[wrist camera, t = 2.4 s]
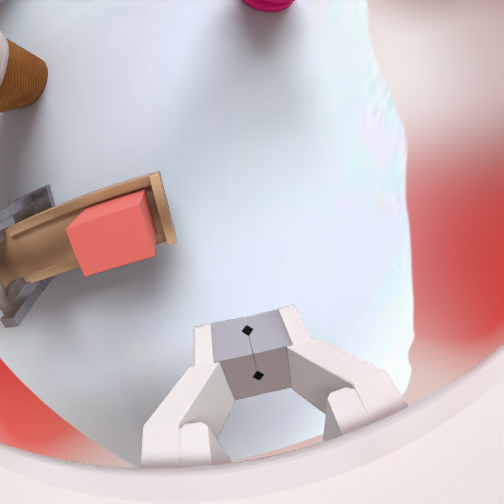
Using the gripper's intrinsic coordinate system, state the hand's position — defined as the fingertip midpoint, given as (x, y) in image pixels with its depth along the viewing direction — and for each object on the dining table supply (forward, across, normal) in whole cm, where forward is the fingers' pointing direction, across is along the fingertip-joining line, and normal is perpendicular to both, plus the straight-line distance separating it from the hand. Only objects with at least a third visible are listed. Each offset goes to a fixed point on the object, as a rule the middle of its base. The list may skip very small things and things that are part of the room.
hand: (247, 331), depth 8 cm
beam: (+20, +22, 0) cm, 30 cm away
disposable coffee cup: (+23, +20, -19) cm, 36 cm away
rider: (+18, +9, 0) cm, 20 cm away
